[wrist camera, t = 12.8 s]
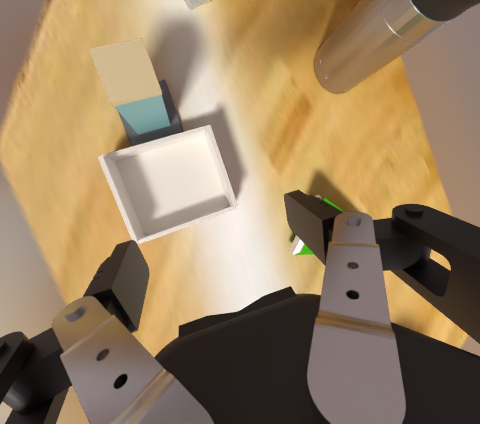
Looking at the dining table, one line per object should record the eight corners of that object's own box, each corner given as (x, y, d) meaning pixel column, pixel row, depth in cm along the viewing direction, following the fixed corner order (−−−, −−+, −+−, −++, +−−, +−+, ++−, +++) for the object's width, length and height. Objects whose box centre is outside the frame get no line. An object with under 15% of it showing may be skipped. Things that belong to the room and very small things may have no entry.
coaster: (165, 81, 35) (164, 79, 34) (183, 132, 36) (182, 131, 35) (112, 94, 34) (110, 92, 33) (132, 146, 35) (131, 145, 34)
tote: (206, 131, 37) (208, 120, 31) (232, 207, 38) (239, 209, 33) (110, 159, 34) (95, 152, 29) (143, 239, 36) (135, 247, 30)
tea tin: (159, 92, 34) (142, 38, 23) (171, 126, 35) (161, 90, 23) (124, 101, 33) (88, 48, 22) (137, 135, 34) (109, 102, 22)
